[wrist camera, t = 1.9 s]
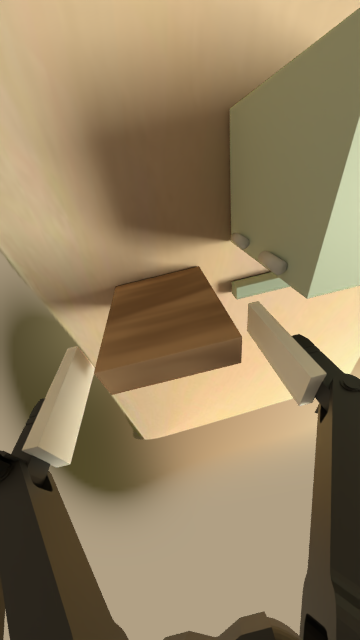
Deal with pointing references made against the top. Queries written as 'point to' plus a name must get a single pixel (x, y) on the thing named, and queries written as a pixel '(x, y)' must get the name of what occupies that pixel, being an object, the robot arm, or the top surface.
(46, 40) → the top surface
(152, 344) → the brown boxy piece
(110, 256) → the top surface
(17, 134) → the top surface
